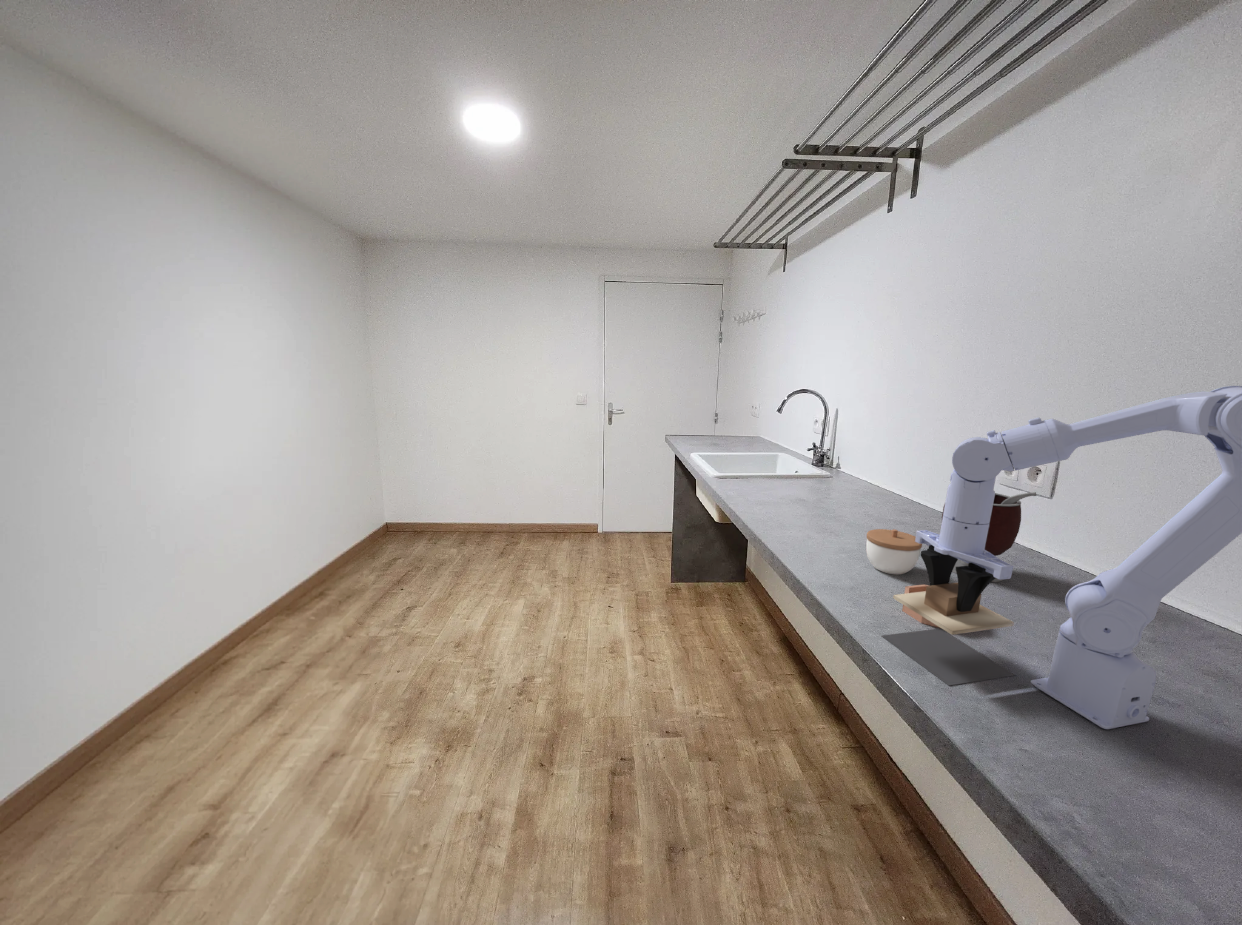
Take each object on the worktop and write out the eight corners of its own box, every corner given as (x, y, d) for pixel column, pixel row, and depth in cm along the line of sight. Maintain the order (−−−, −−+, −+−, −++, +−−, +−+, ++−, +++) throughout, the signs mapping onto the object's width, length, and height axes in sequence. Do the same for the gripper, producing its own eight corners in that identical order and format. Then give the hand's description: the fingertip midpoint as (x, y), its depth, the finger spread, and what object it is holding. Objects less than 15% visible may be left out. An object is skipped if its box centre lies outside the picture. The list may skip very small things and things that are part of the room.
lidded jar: (925, 583, 104) (932, 541, 102) (870, 577, 106) (875, 535, 104) (907, 563, 114) (913, 524, 112) (857, 558, 116) (862, 520, 114)
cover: (1013, 625, 73) (1017, 603, 72) (952, 634, 70) (956, 611, 69) (948, 591, 83) (951, 571, 82) (893, 598, 80) (896, 577, 80)
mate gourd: (925, 567, 112) (939, 481, 108) (944, 553, 121) (958, 473, 117) (1009, 592, 100) (1029, 497, 96) (1024, 574, 110) (1043, 487, 105)
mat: (1015, 677, 73) (1015, 674, 73) (948, 688, 70) (949, 685, 70) (940, 630, 85) (940, 628, 85) (881, 638, 82) (881, 635, 82)
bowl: (984, 628, 87) (988, 609, 86) (935, 634, 84) (938, 615, 83) (934, 599, 96) (937, 583, 96) (889, 604, 94) (891, 587, 93)
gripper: (905, 505, 79) (892, 584, 82) (990, 537, 66) (972, 630, 68) (941, 503, 81) (928, 580, 84) (1031, 534, 67) (1012, 625, 70)
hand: (950, 603), depth 76 cm, fingers closed on cover, 4 cm apart
